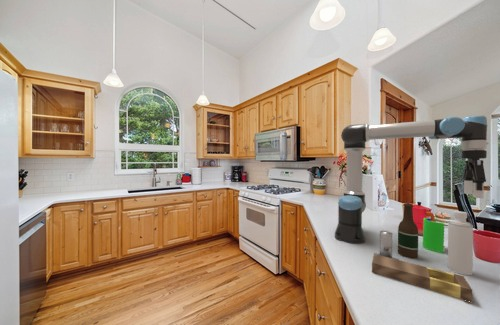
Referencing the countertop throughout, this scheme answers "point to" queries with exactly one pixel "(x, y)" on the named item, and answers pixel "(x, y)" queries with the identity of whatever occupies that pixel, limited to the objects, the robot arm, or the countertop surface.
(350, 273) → the countertop surface
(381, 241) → the peg
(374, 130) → the robot arm
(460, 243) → the white bottle
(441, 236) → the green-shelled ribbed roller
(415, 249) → the beer bottle
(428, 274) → the rail
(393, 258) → the mat
